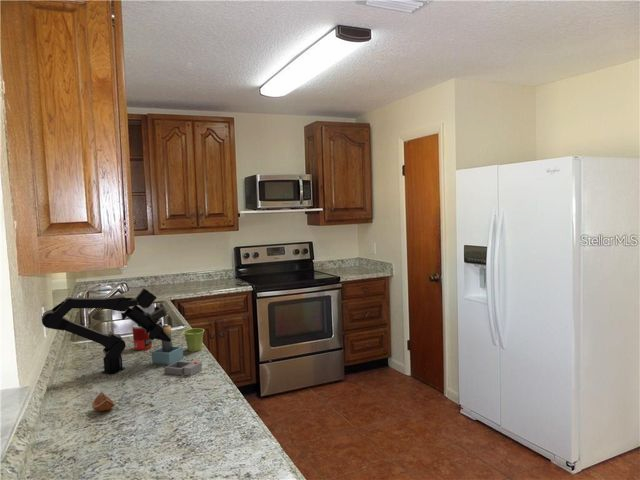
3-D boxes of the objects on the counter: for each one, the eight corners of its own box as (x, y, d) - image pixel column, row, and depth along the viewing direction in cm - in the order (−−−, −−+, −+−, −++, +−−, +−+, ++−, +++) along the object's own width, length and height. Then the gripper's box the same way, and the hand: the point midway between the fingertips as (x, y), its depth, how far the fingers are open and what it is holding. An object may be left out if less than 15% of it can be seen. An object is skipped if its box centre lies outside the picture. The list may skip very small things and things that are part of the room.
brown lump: (117, 412, 153) (116, 396, 152) (95, 418, 149) (93, 402, 149) (112, 403, 160) (111, 389, 159) (90, 409, 156) (89, 394, 155)
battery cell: (171, 356, 199) (169, 325, 198) (161, 357, 199) (159, 326, 198) (173, 353, 203) (171, 322, 202) (163, 354, 203) (161, 323, 202)
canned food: (148, 350, 217) (146, 326, 216) (131, 351, 218) (129, 327, 217) (154, 345, 225) (153, 322, 224) (138, 346, 225) (136, 323, 224)
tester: (190, 376, 182) (189, 366, 181) (164, 373, 186) (164, 364, 186) (202, 369, 189) (202, 360, 189) (177, 366, 193) (177, 357, 193)
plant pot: (208, 346, 220) (207, 328, 219) (201, 353, 210) (200, 333, 210) (188, 346, 221) (187, 328, 220) (181, 353, 211) (179, 334, 211)
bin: (169, 365, 196) (168, 353, 195) (152, 363, 199) (151, 351, 198) (183, 358, 204) (182, 346, 203) (166, 356, 207) (165, 345, 207)
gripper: (155, 306, 189) (186, 329, 194) (152, 298, 206) (180, 319, 211) (135, 328, 187) (167, 351, 192) (134, 318, 204) (162, 340, 209)
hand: (169, 339), depth 201 cm, fingers closed on battery cell, 4 cm apart
